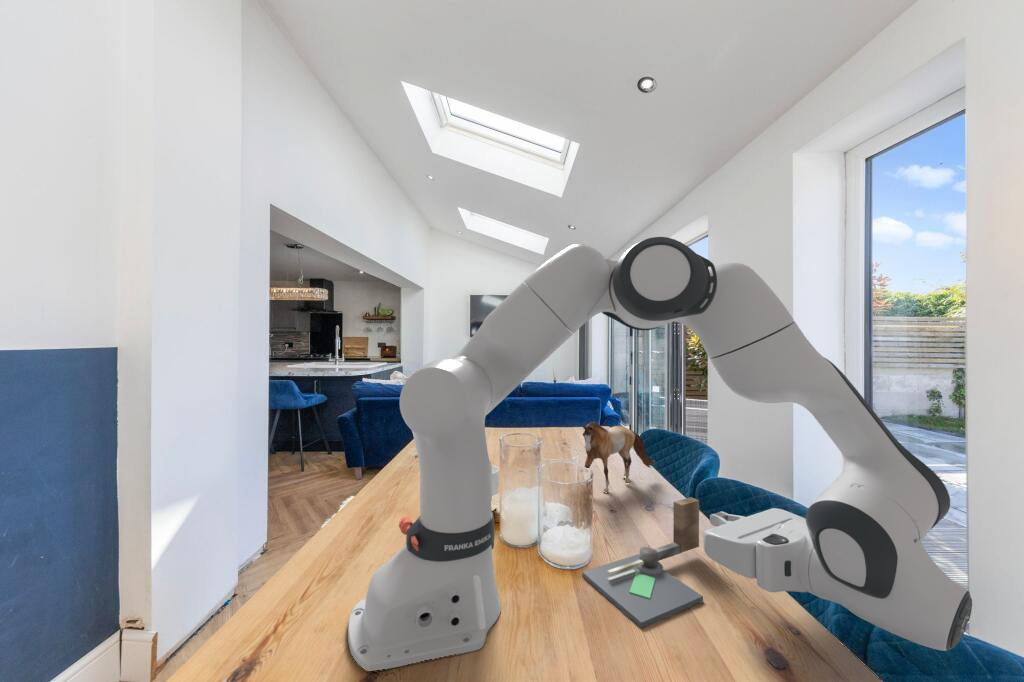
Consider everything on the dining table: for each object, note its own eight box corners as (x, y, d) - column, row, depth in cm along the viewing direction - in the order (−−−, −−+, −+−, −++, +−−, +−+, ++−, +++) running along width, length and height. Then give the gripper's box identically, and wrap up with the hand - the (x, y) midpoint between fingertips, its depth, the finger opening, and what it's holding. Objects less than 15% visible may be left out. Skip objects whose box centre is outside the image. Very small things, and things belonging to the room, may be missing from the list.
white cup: (494, 517, 92) (494, 475, 92) (463, 514, 94) (463, 472, 94) (501, 504, 100) (502, 465, 100) (472, 501, 101) (473, 463, 101)
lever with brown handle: (614, 581, 65) (615, 524, 65) (602, 571, 68) (602, 517, 68) (702, 551, 75) (702, 501, 75) (687, 543, 78) (688, 496, 78)
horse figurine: (587, 504, 100) (588, 425, 100) (566, 494, 106) (566, 420, 107) (655, 480, 119) (656, 413, 119) (634, 473, 125) (634, 410, 125)
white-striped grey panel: (641, 628, 56) (641, 620, 56) (582, 576, 69) (582, 570, 69) (706, 599, 63) (706, 592, 63) (641, 557, 75) (641, 551, 75)
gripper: (837, 518, 61) (750, 489, 74) (760, 549, 52) (675, 510, 64) (838, 558, 61) (750, 522, 73) (761, 596, 52) (675, 548, 64)
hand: (715, 517), depth 69 cm, fingers closed
